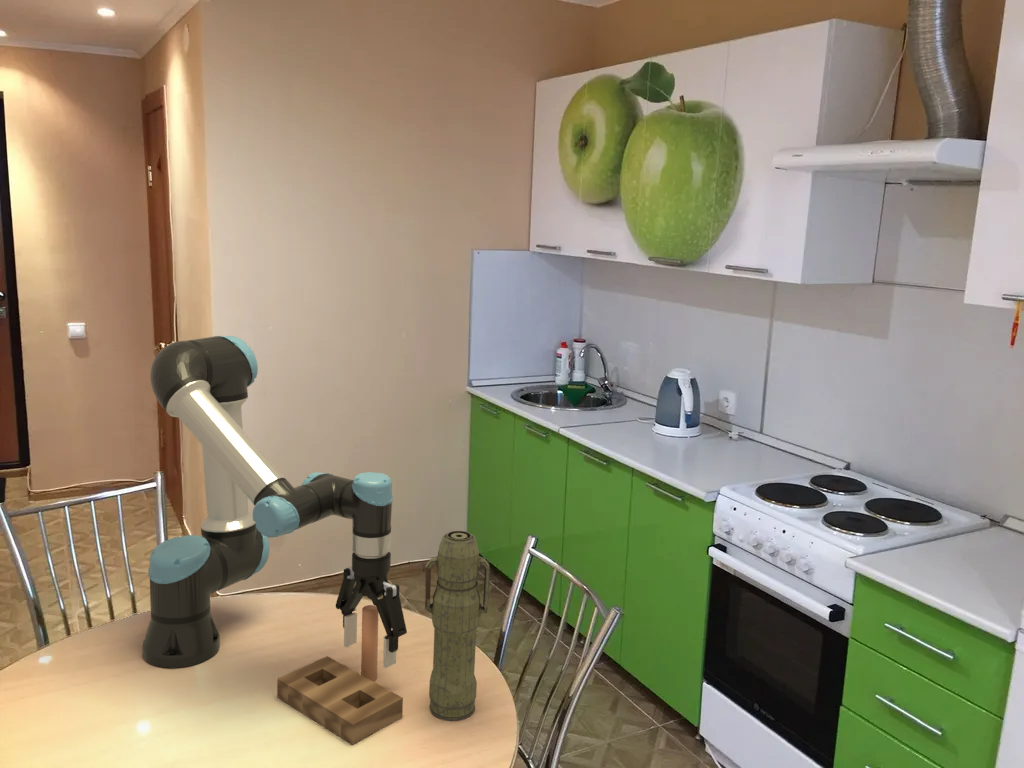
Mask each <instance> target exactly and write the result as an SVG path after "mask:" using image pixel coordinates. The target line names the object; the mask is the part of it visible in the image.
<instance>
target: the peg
mask: <svg viewBox="0 0 1024 768" xmlns="http://www.w3.org/2000/svg"><path fill="white" fill-rule="evenodd" d="M361 610H362V611H361V655H360V656H361V658H360V661H361V664H360V670H361V672H360V674H361V675H363V676H364V677H366V678H368V679H370V680H372V681H373V682H375V681H376V680H377V678H378V652H379V650H378V648H379V642H378V641H379V612H378V610H377V607H376V605H374V604H372V605H371V604H369V605H365V606H363V607H362V608H361Z"/></svg>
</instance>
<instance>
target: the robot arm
mask: <svg viewBox="0 0 1024 768" xmlns="http://www.w3.org/2000/svg"><path fill="white" fill-rule="evenodd" d="M258 368H259V366H258V360H257V357H256V355H255V353H254V351H253V350H252V348H251V346H249V345H248V343H247V342H246V341H245V340H243V339H242V338H240V337H237V336H234V335H214V336H209V337H202V338H194V339H190V340H180V341H179V340H178V341H174V342H171V343H169V344H167V345H166V346H163V348H162V349H161V350H160V351H159V352H157V354H156V356H155V357H154V359H153V361H152V364H151V367H150V373H149V374H150V376H149V378H150V386H151V389H152V392H153V394H154V397H155V398H156V400H157V402H158V403H159V405H160V406H161V407H162V408H163V410H165V412H166V413H167V414H168V415H169V416H170V417H173V418H178V419H179V420H180V421H181V423H183V424H184V426H185V427H186V428H187V429H188V430H189V431H190V432H191V434H192V435H193V436H194V437H195V439H197V441H198V442H199V443H200V445H201V448H202V463H203V477H204V478H203V479H204V486H205V487H204V490H205V491H204V492H205V502H206V515H207V516H206V518H205V519H204V520H203V522H202V523H201V524H200V532H201V533H200V535H195V534H186V535H183V536H176V537H172V538H169V539H166V540H164V541H163V542H161V543H158V545H156V546H155V547H154V549H152V551H151V553H150V556H149V567H148V571H147V573H148V577H149V594H150V595H149V596H150V597H149V599H150V600H149V601H150V621H149V624H148V626H147V631H146V632H145V637H144V640H143V642H142V657H143V659H144V661H146V662H147V664H148V663H149V664H150V665H152V666H155V667H160V668H166V669H168V668H170V669H172V668H173V669H174V668H175V669H176V668H186V667H190V666H194V665H198V664H200V663H203V662H205V661H208V660H210V659H211V658H212V657H214V656H215V655H216V654H217V653H218V651H220V647H221V646H220V645H221V644H220V643H221V641H220V632H219V631H218V628H217V625H216V623H215V620H214V618H213V615H212V612H211V595H212V594H214V593H216V592H218V591H220V590H223V589H225V588H228V587H230V586H232V585H235V584H236V583H239V582H241V581H245V580H247V579H249V578H251V577H252V576H253V575H255V574H257V573H259V572H260V571H261V570H262V569H263V568H264V567H265V566H266V564H267V562H268V560H269V558H270V557H269V556H270V540H269V538H278V537H281V536H284V535H289V534H292V533H294V532H295V531H296V530H299V529H300V528H304V527H306V526H308V525H310V524H313V523H316V522H318V521H320V520H324V519H326V518H329V517H331V516H336V517H341V518H345V519H349V520H352V521H351V522H352V523H351V525H352V534H351V535H352V536H351V538H352V539H351V551H352V554H351V566H349V567H346V568H344V569H343V578H342V581H341V582H342V583H341V586H340V589H339V593H338V596H337V599H336V602H335V609H336V610H340V612H341V615H342V627H343V646H344V647H345V648H348V647H349V646H352V645H355V644H357V638H358V637H357V636H358V635H357V634H358V613H357V612H355V611H357V607H358V606H359V604H360V602H361V601H362V599H363V598H364V597H367V598H368V599H369V600H371V601H372V605H374V606H376V607H377V610H378V616H380V617H379V619H381V623H382V625H383V628H384V630H385V633H386V635H384V636H383V651H382V652H383V655H382V657H383V659H382V660H383V661H382V662H383V663H382V665H383V666H382V668H384V669H387V668H389V667H391V666H393V665H395V664H396V663H397V651H398V650H399V638H400V637H402V636H404V635H406V634H407V633H408V632H407V631H408V630H407V626H406V621H405V617H404V612H403V608H402V603H401V598H400V585H399V584H397V583H396V584H394V585H393V584H391V583H389V580H388V574H389V572H390V570H391V564H392V563H391V560H392V559H391V556H392V554H391V552H390V551H391V548H392V512H393V501H394V496H393V485H392V483H393V482H392V479H391V477H390V476H389V475H387V474H386V473H382V472H373V471H366V472H361V473H358V474H357V475H355V476H354V478H353V479H350V478H346V477H343V476H337V475H334V474H332V473H328V472H319V471H318V472H317V471H316V472H315V471H314V472H312V473H310V474H308V475H307V477H306V478H305V479H303V481H302V482H301V485H298V486H296V487H294V486H293V485H292V484H291V482H290V481H289V480H287V479H286V478H285V476H284V475H283V474H282V473H281V472H280V470H278V468H277V467H276V466H275V465H274V464H273V463H272V462H271V460H270V459H269V458H268V457H267V456H266V455H265V453H263V451H262V450H261V449H260V448H259V447H258V446H257V444H256V443H255V442H254V441H253V440H252V438H250V436H249V435H248V434H247V433H246V432H245V431H244V429H243V428H244V427H243V416H242V415H243V410H242V406H243V405H244V403H246V401H247V400H248V399H249V395H248V387H250V386H251V385H252V384H253V383H254V382H255V379H256V378H257V376H258V372H259V371H258V370H259V369H258ZM248 500H249V501H251V502H252V504H253V505H254V506H253V508H252V514H251V513H250V512H249V501H248ZM380 597H382V598H380Z"/></svg>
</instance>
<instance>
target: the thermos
mask: <svg viewBox="0 0 1024 768" xmlns="http://www.w3.org/2000/svg"><path fill="white" fill-rule="evenodd" d="M438 546H439V549H438V551H437V556H435V557H431V558H430V559H429V560H428V562H427V563H426V565H425V568H424V569H425V574H424V575H425V578H424V579H425V585H424V586H425V587H424V588H425V589H424V590H425V595H424V597H425V598H424V599H425V600H424V609H425V610H426V611H427V612H428V613H430V614H431V618H432V619H431V622H432V625H433V629H434V630H433V631H434V632H433V633H434V634H433V655H432V657H433V658H432V659H433V660H432V662H433V663H432V664H433V665H432V670H431V674H430V677H429V686H428V688H429V690H428V691H429V693H428V696H429V700H430V701H429V712H430V713H431V714H432V715H433V716H434V717H435V718H437V719H439V720H443V721H449V722H457V721H462V720H466V719H467V718H469V717H471V716H472V715H473V714H474V713H475V709H476V705H475V704H476V703H475V701H476V698H477V689H478V688H477V687H478V686H477V685H478V683H477V681H478V680H477V679H476V675H475V669H476V668H475V667H476V665H475V663H476V646H477V645H476V644H477V639H476V638H477V629H478V627H479V625H480V617H481V616H482V614H487V613H488V608H489V599H490V598H489V597H490V577H491V576H490V575H491V567H490V564H489V563H488V561H487V559H486V558H484V557H483V558H482V557H481V556H480V549H479V545H478V542H477V538H476V536H475V535H474V534H473V533H470V532H468V531H464V530H453V531H452V530H451V531H449V532H447V533H444V534H443V536H442V537H441V541H440V543H439V545H438ZM434 565H436V566H437V569H436V574H437V581H436V588H435V590H434V592H433V594H432V603H431V587H432V585H431V584H432V583H431V581H432V579H431V578H432V569H433V567H434ZM482 566H483V567H484V580H483V581H484V582H483V602H482V603H483V606H482V603H481V595H480V593H479V588H478V587H479V586H478V577H479V568H481V567H482Z"/></svg>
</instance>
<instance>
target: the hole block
mask: <svg viewBox="0 0 1024 768" xmlns="http://www.w3.org/2000/svg"><path fill="white" fill-rule="evenodd" d="M276 681H277V684H276V685H277V692H276V693H277V696H276V697H277V698H278V699H279V700H281V701H283V702H284V703H285V704H287V705H289V706H290V707H292V708H293V709H294V710H296V711H298V712H300V713H301V714H302V715H304V716H306V717H308V718H309V719H311V720H312V721H314V722H316V723H317V724H319V725H320V726H322V727H324V729H327V730H328V731H330V732H331V733H333V734H335V735H336V736H338V737H339V738H341V739H342V740H344V741H345V742H347V743H349V744H350V745H352V746H353V745H356V744H357V743H359V742H360V741H363V740H364V739H366V738H368V737H370V736H371V735H373V734H375V733H377V732H379V731H381V730H383V729H384V728H386V727H388V726H389V725H392V724H393V723H395V722H397V721H398V720H400V719H402V718H403V713H404V712H403V711H404V710H403V709H404V708H403V705H404V697H402V696H401V695H399V694H397V693H396V692H395V693H394V692H393V691H391V690H389V689H387V688H386V687H384V686H382V685H380V684H379V683H376V682H375V681H372V680H370V679H368V678H366V677H364V676H363V675H361V673H359V672H357V671H356V670H353V669H352V668H350V667H348V666H346V665H344V664H342V663H341V662H339V661H337V660H335V659H334V658H332V657H330V656H328V655H326V656H324V657H322V658H319V659H317V660H315V661H313V662H311V663H309V664H306V665H304V666H302V667H300V668H298V669H295V670H293V671H291V672H288V673H286V674H283V675H282V676H280V677H277V679H276Z"/></svg>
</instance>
